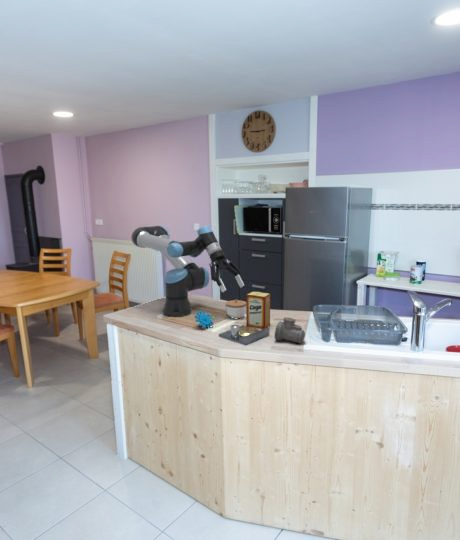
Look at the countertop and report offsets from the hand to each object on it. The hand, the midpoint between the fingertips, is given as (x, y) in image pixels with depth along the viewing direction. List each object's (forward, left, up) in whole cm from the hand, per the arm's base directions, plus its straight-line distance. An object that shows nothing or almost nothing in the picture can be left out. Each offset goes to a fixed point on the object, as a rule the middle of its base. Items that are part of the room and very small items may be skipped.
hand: (233, 288), depth 196 cm
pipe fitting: (+40, -8, -16) cm, 44 cm away
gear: (-1, -19, -16) cm, 25 cm away
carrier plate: (+21, -16, -15) cm, 31 cm away
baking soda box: (+17, -1, -16) cm, 23 cm away
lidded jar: (0, +2, -16) cm, 16 cm away
